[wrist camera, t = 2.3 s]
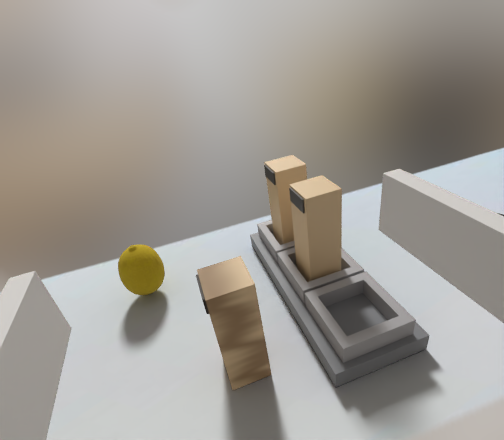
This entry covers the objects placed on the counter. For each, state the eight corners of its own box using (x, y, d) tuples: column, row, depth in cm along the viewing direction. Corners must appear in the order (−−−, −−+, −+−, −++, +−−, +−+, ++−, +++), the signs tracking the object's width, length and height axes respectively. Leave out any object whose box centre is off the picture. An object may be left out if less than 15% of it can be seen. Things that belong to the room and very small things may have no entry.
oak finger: (258, 343, 35) (240, 256, 28) (271, 375, 31) (254, 284, 25) (221, 357, 34) (194, 270, 28) (230, 391, 30) (202, 301, 24)
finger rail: (309, 227, 52) (304, 144, 45) (426, 348, 31) (452, 230, 24) (252, 245, 50) (237, 161, 43) (335, 387, 29) (334, 271, 22)
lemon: (179, 287, 44) (162, 240, 40) (146, 313, 41) (124, 265, 37) (155, 274, 47) (138, 229, 43) (123, 297, 44) (100, 251, 40)
